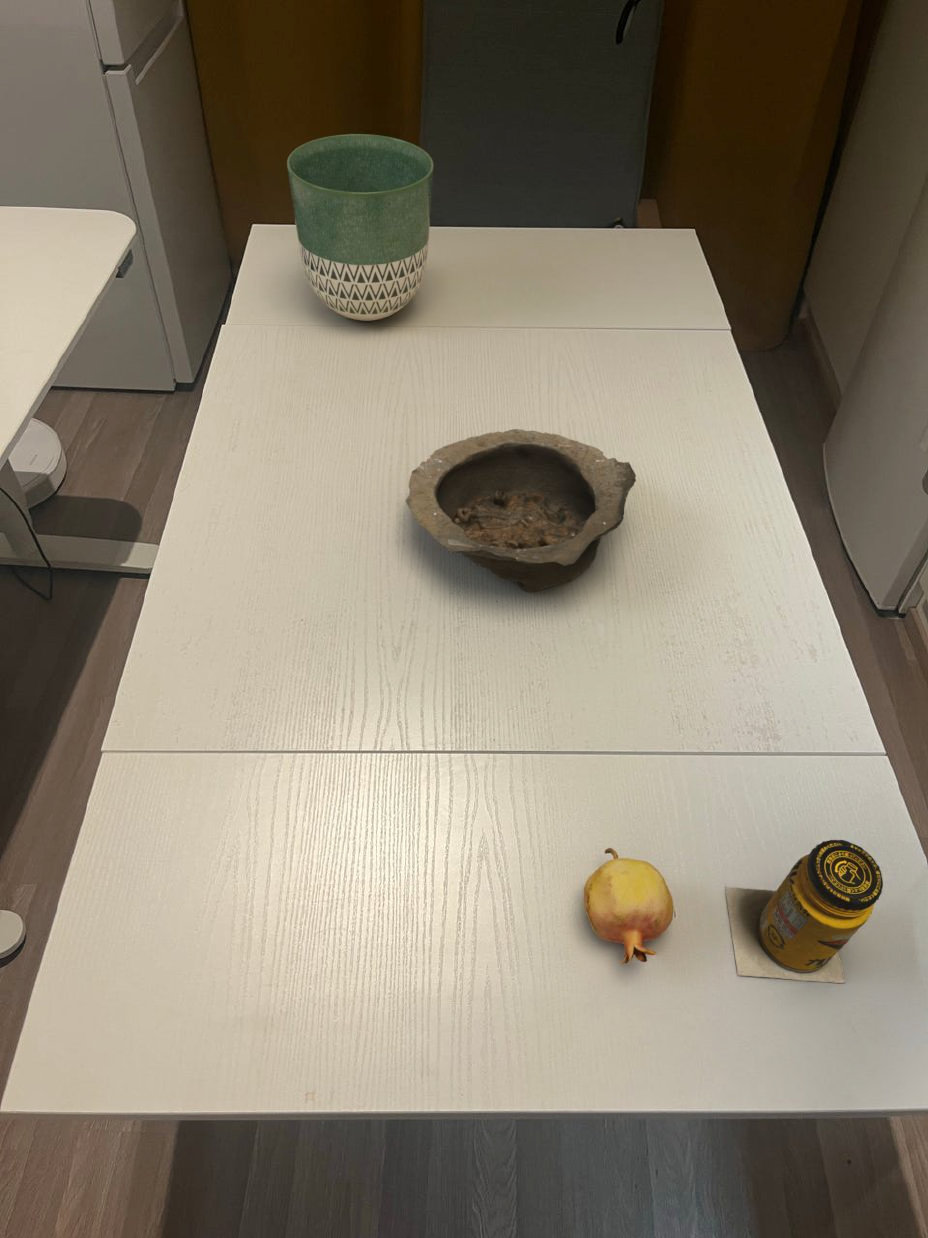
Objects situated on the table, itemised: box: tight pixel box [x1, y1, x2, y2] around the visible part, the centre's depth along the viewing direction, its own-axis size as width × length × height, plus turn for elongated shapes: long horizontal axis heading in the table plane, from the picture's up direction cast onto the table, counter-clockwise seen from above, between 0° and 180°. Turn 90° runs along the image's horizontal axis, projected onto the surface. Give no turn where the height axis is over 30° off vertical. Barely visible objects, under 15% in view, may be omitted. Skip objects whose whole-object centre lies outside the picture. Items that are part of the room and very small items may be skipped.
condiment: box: [725, 839, 884, 984], centre depth 68 cm, size 7×8×12 cm
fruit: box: [583, 847, 674, 965], centre depth 70 cm, size 7×7×10 cm
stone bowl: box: [405, 428, 637, 592], centre depth 100 cm, size 25×25×9 cm
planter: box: [286, 133, 435, 322], centre depth 127 cm, size 20×20×21 cm
